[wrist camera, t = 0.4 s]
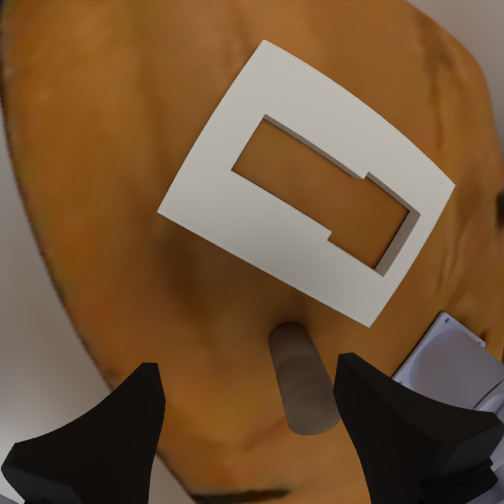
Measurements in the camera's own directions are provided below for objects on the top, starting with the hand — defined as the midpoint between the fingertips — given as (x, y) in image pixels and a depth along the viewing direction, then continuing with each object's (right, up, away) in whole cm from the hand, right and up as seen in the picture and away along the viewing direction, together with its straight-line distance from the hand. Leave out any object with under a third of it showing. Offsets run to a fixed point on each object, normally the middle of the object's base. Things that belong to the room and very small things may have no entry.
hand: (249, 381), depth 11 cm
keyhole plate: (+5, +9, +8) cm, 13 cm away
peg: (+3, -1, +10) cm, 11 cm away
